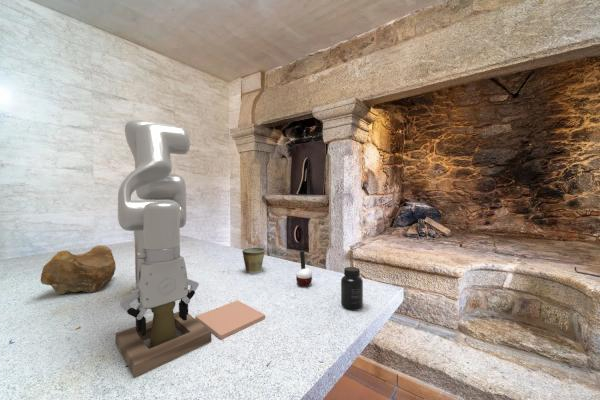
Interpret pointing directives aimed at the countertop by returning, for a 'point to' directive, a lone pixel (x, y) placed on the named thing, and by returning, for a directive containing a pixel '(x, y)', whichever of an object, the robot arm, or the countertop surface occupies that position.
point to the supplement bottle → (352, 289)
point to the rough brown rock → (79, 270)
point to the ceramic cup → (253, 259)
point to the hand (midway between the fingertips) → (163, 325)
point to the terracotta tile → (229, 318)
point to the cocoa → (304, 273)
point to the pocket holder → (149, 359)
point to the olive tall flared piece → (163, 324)
